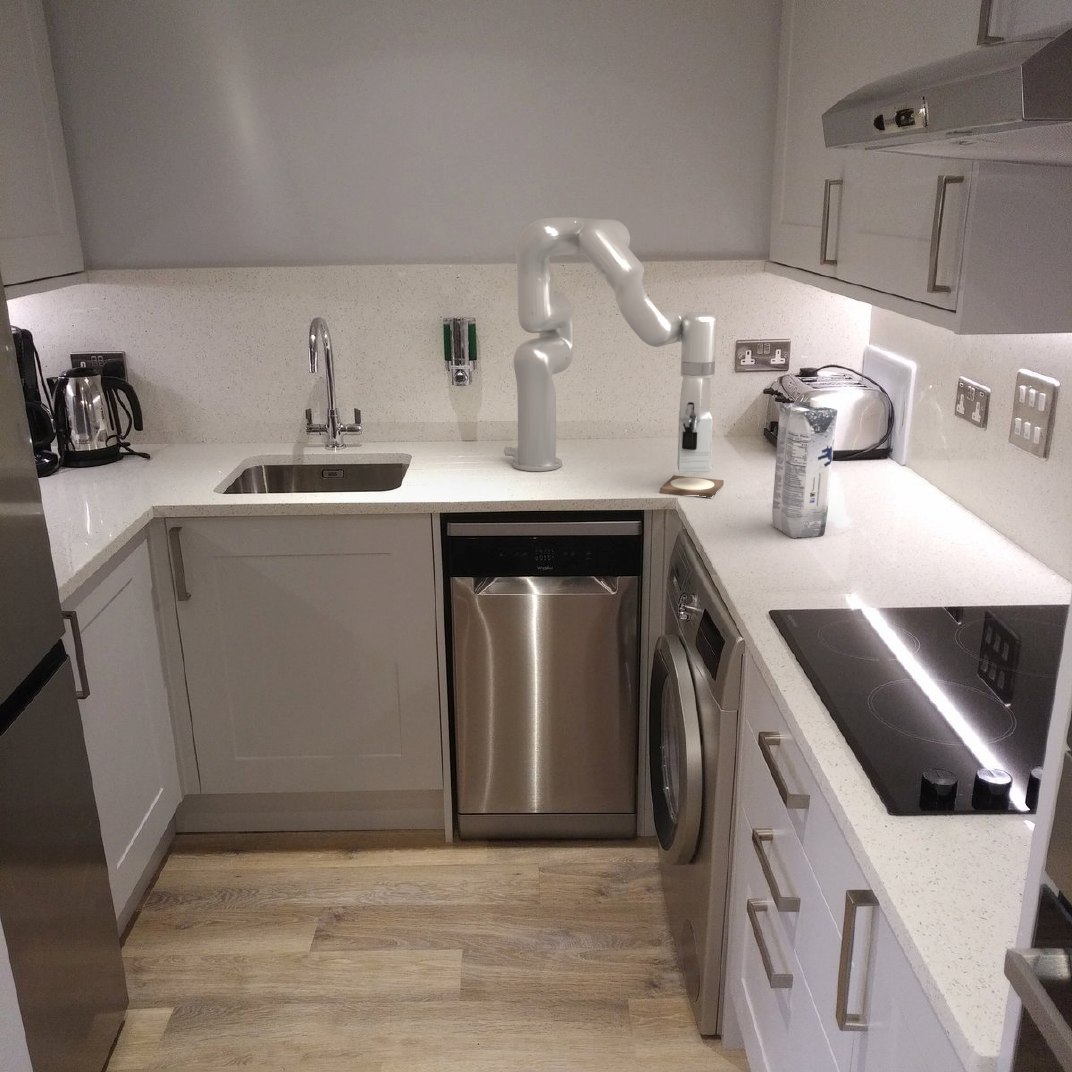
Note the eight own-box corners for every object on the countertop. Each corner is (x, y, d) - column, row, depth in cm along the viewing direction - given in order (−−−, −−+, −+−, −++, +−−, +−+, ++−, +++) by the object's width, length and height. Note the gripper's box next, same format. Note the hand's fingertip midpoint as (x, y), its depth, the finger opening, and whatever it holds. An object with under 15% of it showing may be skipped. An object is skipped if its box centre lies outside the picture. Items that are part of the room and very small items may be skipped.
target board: (659, 493, 232) (660, 487, 231) (673, 480, 242) (673, 474, 242) (711, 498, 227) (712, 492, 227) (723, 485, 238) (723, 479, 238)
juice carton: (791, 541, 199) (802, 405, 191) (765, 525, 209) (775, 395, 200) (831, 537, 202) (844, 402, 193) (804, 521, 211) (815, 393, 203)
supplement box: (708, 465, 236) (711, 411, 232) (710, 473, 229) (713, 418, 225) (676, 464, 237) (678, 411, 233) (677, 472, 230) (679, 417, 226)
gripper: (690, 362, 235) (687, 435, 241) (671, 374, 220) (668, 451, 225) (722, 364, 232) (719, 438, 238) (705, 376, 217) (701, 454, 223)
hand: (694, 444), depth 232 cm, fingers closed on supplement box, 8 cm apart
